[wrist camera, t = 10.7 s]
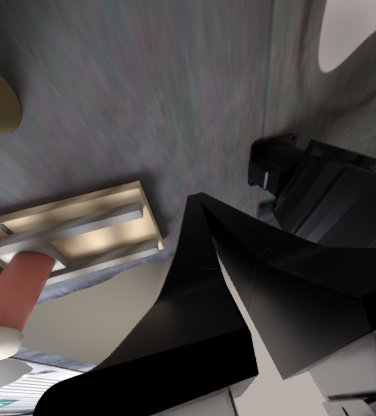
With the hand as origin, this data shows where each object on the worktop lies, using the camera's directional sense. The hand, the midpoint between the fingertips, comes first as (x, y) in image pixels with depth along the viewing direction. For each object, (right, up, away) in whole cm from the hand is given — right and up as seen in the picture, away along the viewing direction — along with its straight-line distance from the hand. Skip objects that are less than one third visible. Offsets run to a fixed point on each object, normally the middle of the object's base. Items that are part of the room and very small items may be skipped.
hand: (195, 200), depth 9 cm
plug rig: (-17, -4, +15) cm, 23 cm away
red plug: (-21, -7, +13) cm, 25 cm away
